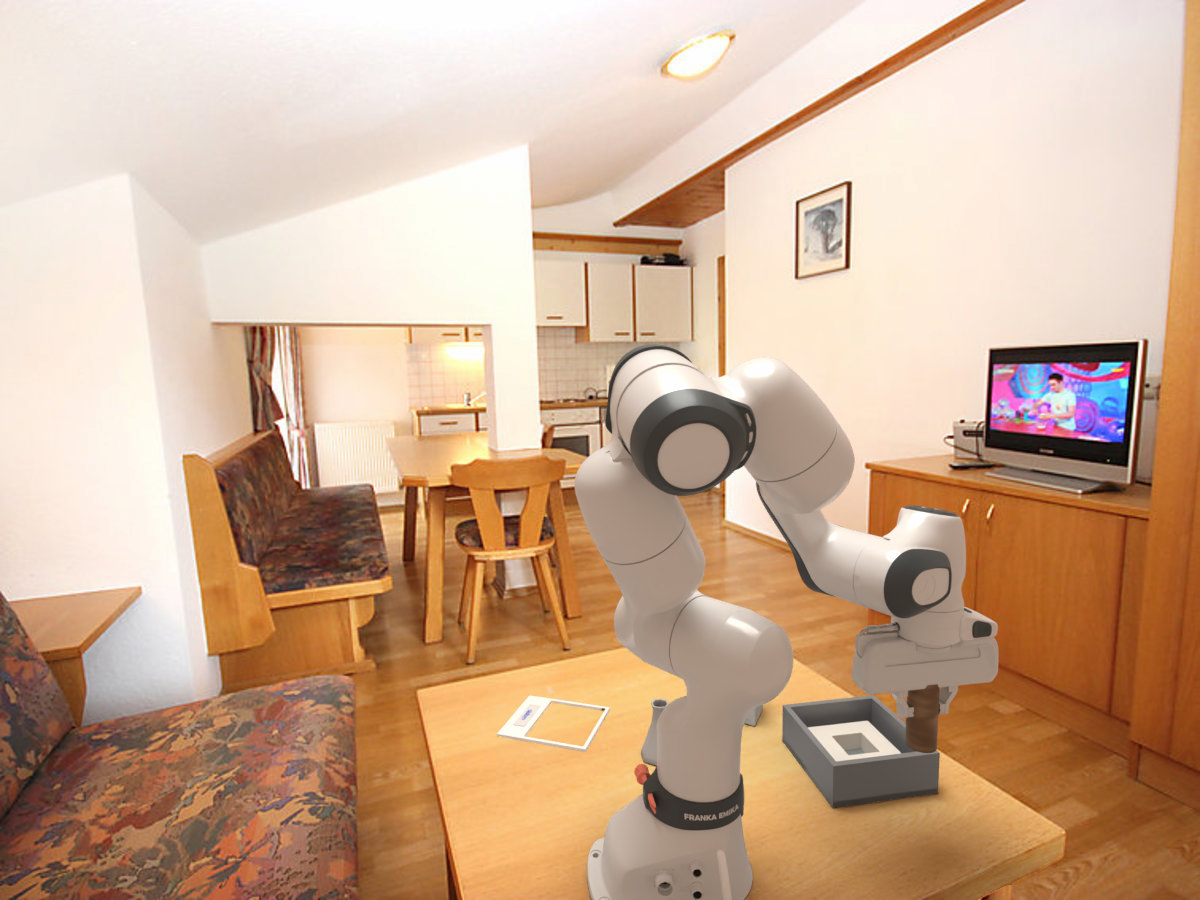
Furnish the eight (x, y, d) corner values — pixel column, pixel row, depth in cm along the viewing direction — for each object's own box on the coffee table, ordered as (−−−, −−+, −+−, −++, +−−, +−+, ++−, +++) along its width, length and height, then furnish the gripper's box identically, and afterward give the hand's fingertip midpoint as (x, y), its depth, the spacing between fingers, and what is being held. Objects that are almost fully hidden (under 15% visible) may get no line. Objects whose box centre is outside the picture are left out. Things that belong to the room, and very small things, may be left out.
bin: (832, 807, 96) (833, 766, 95) (782, 740, 113) (782, 704, 113) (937, 793, 98) (939, 753, 97) (872, 730, 116) (873, 695, 115)
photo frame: (529, 694, 131) (609, 706, 125) (529, 699, 131) (609, 711, 126) (496, 732, 117) (585, 748, 112) (497, 738, 118) (585, 754, 112)
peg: (917, 754, 85) (920, 686, 84) (899, 738, 89) (901, 672, 88) (943, 751, 86) (946, 684, 85) (924, 735, 90) (927, 670, 89)
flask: (679, 770, 106) (678, 715, 105) (637, 765, 107) (636, 712, 106) (682, 745, 113) (681, 693, 112) (643, 741, 114) (642, 690, 113)
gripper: (869, 636, 81) (866, 734, 82) (1009, 623, 84) (1003, 719, 85) (844, 617, 87) (842, 709, 89) (974, 606, 90) (970, 695, 92)
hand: (922, 714), depth 87 cm, fingers closed on peg, 4 cm apart
